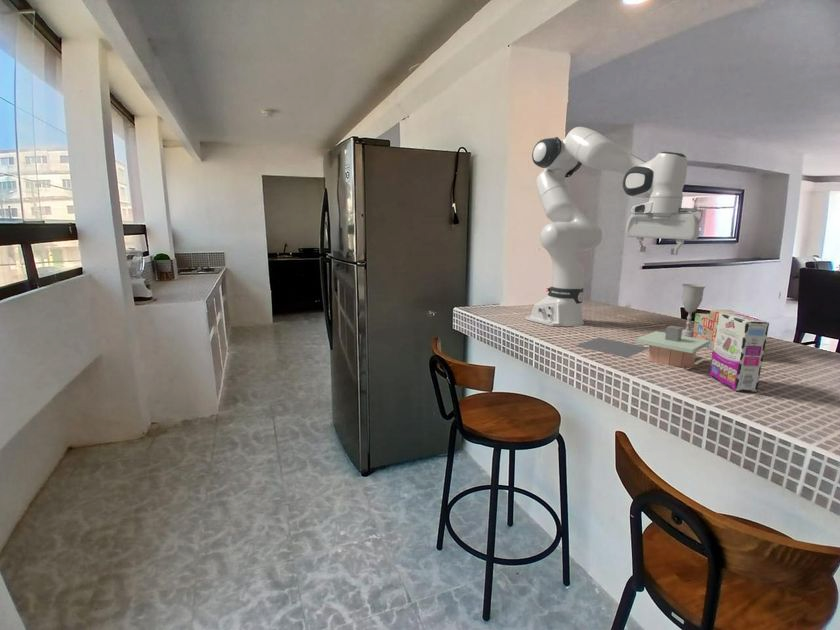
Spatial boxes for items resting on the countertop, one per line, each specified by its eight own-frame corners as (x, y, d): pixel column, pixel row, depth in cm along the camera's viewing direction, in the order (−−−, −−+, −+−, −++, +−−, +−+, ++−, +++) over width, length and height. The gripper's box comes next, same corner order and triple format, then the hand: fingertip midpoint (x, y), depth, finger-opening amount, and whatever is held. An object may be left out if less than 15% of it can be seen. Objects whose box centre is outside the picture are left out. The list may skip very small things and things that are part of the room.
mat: (574, 347, 132) (574, 345, 132) (599, 339, 143) (599, 337, 142) (626, 359, 120) (626, 357, 120) (649, 349, 131) (649, 347, 131)
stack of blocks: (691, 340, 143) (696, 304, 141) (711, 340, 142) (717, 304, 140) (725, 358, 123) (731, 317, 120) (749, 359, 122) (756, 317, 119)
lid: (635, 342, 118) (637, 326, 117) (655, 334, 127) (657, 319, 126) (692, 353, 108) (695, 336, 107) (709, 344, 117) (712, 328, 116)
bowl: (641, 361, 119) (643, 342, 118) (656, 354, 126) (659, 336, 125) (685, 371, 111) (688, 351, 110) (699, 362, 118) (701, 343, 117)
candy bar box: (758, 392, 96) (771, 322, 93) (735, 391, 97) (746, 321, 94) (728, 376, 107) (739, 312, 104) (707, 375, 108) (717, 312, 104)
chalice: (699, 340, 142) (706, 287, 138) (675, 337, 145) (682, 285, 142) (697, 335, 148) (705, 284, 145) (675, 333, 151) (681, 283, 148)
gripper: (706, 208, 124) (698, 255, 127) (635, 207, 139) (629, 250, 142) (699, 207, 120) (691, 256, 123) (626, 207, 135) (620, 251, 138)
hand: (657, 253), depth 133 cm, fingers open, 8 cm apart
